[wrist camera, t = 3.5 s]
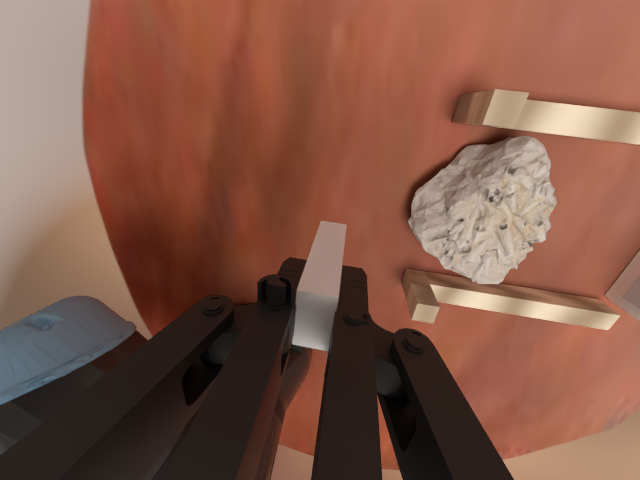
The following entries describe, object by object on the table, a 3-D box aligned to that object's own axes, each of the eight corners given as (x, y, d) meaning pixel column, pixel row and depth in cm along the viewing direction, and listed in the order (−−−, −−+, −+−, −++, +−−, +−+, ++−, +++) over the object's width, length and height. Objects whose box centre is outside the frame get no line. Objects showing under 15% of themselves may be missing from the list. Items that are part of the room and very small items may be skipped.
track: (401, 282, 30) (411, 319, 24) (459, 95, 21) (495, 88, 16) (588, 313, 28) (642, 359, 23) (730, 126, 20) (869, 131, 14)
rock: (453, 271, 28) (475, 307, 23) (392, 201, 26) (402, 223, 21) (561, 209, 24) (617, 235, 19) (501, 116, 21) (548, 118, 16)
